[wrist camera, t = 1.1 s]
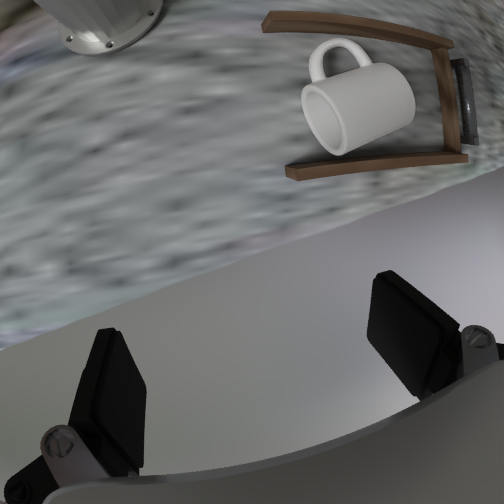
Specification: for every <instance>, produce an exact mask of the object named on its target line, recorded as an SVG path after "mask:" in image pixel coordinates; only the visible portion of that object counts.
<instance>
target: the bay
mask: <svg viewBox="0 0 504 504" xmlns="http://www.w3.org/2000/svg"><path fill="white" fill-rule="evenodd" d="M261 26H262V31H263V33H276V32H303V33H326V34H340V35H350V36H359V37H367V38H374V39H380V40H386V41H392V42H397V43H402V44H407V45H412V46H416V47H420V48H425V49H428V50H431V52H432V56H433V61H434V66H435V72H436V77H437V83H438V89H439V96H440V104H441V112H442V121H443V133H444V148H445V152H419V153H402V154H388V155H375V156H364V157H354V158H344V159H335V160H327V161H318V162H311V163H303V164H296V165H289V166H285V172H286V177H289V178H291V179H294V180H296V181H302V180H309V179H315V178H322V177H329V176H336V175H344V174H351V173H359V172H367V171H376V170H385V169H394V168H404V167H415V166H427V165H439V164H454V163H468V154H463V153H461V144H460V143H462V144H469V145H479V137H478V133H477V121H476V111H475V102H474V95H473V88H472V82H471V76H470V70H469V67H470V66H469V62H468V60H467V59H464V58H462V59H455V60H450V59H449V55H448V50H447V49H451V48H454V45H453V41H452V40H449V39H446V38H443V37H440V36H437V35H434V34H431V33H428V32H424V31H421V30H417V29H414V28H410V27H406V26H402V25H397V24H393V23H389V22H384V21H379V20H373V19H368V18H362V17H355V16H348V15H340V14H331V13H320V12H304V11H270V12H269V13H268V15H267V16H266V18H265V19H264V21H263V22H262V24H261ZM452 69H455V72H456V77H457V83H458V89H459V96H460V104H461V112H462V123H463V135H464V136H462V135H460V129H459V118H458V109H457V101H456V93H455V87H454V80H453V75H452Z"/></svg>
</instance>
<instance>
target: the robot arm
mask: <svg viewBox="0 0 504 504" xmlns="http://www.w3.org/2000/svg"><path fill="white" fill-rule="evenodd" d="M34 1H35V2H36V3H37V4H38V5H40V6H41V7H42V8H43V9H45V10H46V11H47V12H48V13H49V14H51V15H52V16H53V17H54V18H55V19H57V20H58V33H59V36H60V39H61V41H62V42H63V43H64V45H65V46H66V47H67V48H69V49H70V50H72V51H73V52H75V53H77V54H80V55H84V56H101V55H107V54H110V53H114V52H117V51H119V50H121V49H124V48H126V47H127V46H129V45H131V44H133V43H134V42H136V41H137V40H138V39H140V38H141V37H142V36H143V35H145V33H146V32H147V31H148V30H149V29H150V28H151V27H152V26H153V25H154V23H155V22H156V21H157V19H158V17H159V15H160V13H161V11H162V7H163V4H164V0H34ZM150 15H153V16H150ZM71 40H72V41H71ZM70 41H71V42H70ZM112 45H113V46H112ZM110 46H112V47H111V48H110ZM459 326H460V324H459V323H457V322H456V321H455V320H454V319H453V318H452V317H450V316H449V315H448V314H447V313H446V312H444V311H443V310H442V309H441V308H440V307H438V306H437V305H436V304H435V303H433V302H432V301H431V300H430V299H428V298H427V297H426V296H425V295H423V294H422V293H421V292H420V291H418V290H417V289H416V288H414V287H413V286H412V285H411V284H409V283H408V282H407V281H405V280H404V279H403V278H401V277H400V276H399V275H398V274H396V273H395V272H393V271H392V270H388V271H385V272H381V273H378V274H377V275H376V278H374V280H373V285H372V295H371V304H370V312H369V320H368V327H367V338H368V340H369V342H370V343H371V344H372V346H373V347H374V348H375V349H376V351H377V352H378V353H379V354H380V355H381V357H382V358H383V359H384V360H385V362H386V363H387V364H388V365H389V367H390V368H391V369H392V370H393V371H394V373H395V374H396V375H397V376H398V378H399V379H400V380H401V382H402V383H403V384H404V385H405V387H406V388H407V389H408V391H409V392H410V393H411V394H412V395H413V396H417V398H418V399H419V400H420V402H418V403H416V404H414V405H412V406H410V407H408V408H406V409H404V410H402V411H401V412H398V413H396V414H394V415H392V416H390V417H388V418H385V419H383V420H381V421H379V422H376V423H374V424H372V425H370V426H367V427H365V428H362V429H360V430H357V431H355V432H352V433H350V434H347V435H345V436H342V437H339V438H336V439H333V440H330V441H328V442H325V443H322V444H318V445H315V446H313V447H309V448H306V449H303V450H299V451H296V452H292V453H288V454H285V455H281V456H277V457H273V458H269V459H265V460H261V461H256V462H251V463H246V464H241V465H236V466H230V467H224V468H218V469H211V470H204V471H196V472H188V473H178V474H166V475H151V476H139V468H142V467H143V464H144V429H145V409H146V394H147V392H146V385H145V382H144V380H143V379H142V376H141V374H140V372H139V370H138V368H137V366H136V364H135V362H134V360H133V358H132V356H131V353H130V351H129V349H128V347H127V345H126V342H125V340H124V338H123V335H122V333H121V332H120V331H116V329H115V328H106V329H99V330H98V332H97V335H96V337H95V340H94V343H93V346H92V349H91V352H90V355H89V358H88V361H87V364H86V367H85V369H84V370H83V372H82V375H81V379H80V382H79V385H78V389H77V392H76V396H75V399H74V403H73V407H72V411H71V414H70V418H69V422H68V425H56V426H54V427H52V428H50V429H49V430H48V431H47V432H46V433H45V434H44V436H43V437H42V440H41V442H40V449H41V453H42V455H41V456H40V457H38V458H37V459H36V460H34V461H33V462H31V463H30V464H29V465H27V466H26V467H25V468H23V469H22V470H20V471H19V472H18V473H16V474H15V475H14V476H12V477H11V478H10V479H9V480H8V481H7V483H6V485H5V488H4V497H5V500H6V501H5V502H3V501H0V504H504V344H500V343H496V341H495V338H494V335H493V334H492V333H491V332H490V331H489V330H488V329H486V328H484V327H482V326H478V325H470V326H467V327H465V328H464V329H463V330H462V332H460V331H458V329H459ZM432 394H433V395H432ZM128 476H129V477H128Z"/></svg>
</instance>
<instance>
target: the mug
mask: <svg viewBox="0 0 504 504" xmlns="http://www.w3.org/2000/svg"><path fill="white" fill-rule="evenodd" d="M334 47H344V48H346V49H348V50H349V51H350V52H351V53H352V54H353V55H354V57H355V58H356V60H357V62H358V63H359V65H360V68H357V69H354V70H350V71H347V72H344V73H341V74H338V75H335V76H332V77H326V76H325V73H324V70H323V56H324V54H325V52H326V51H328V50H329V49H331V48H334ZM309 73H310V77H311V80H312V83H311V84H309V85H306V86H305V87H304V88H303V90H302V93H301V103H302V108H303V112H304V115H305V118H306V120H307V123H308V125H309V127H310V129H311V130H312V132H313V134H314V135H315V137H316V138H317V140H318V141H319V142H320V144H321V145H322V146H323V147H324V148H325V149H326V150H327V151H329V152H330V153H332V154H334V155H337V156H340V155H343V154H345V153H347V152H349V151H352V150H354V149H356V148H358V147H360V146H362V145H364V144H367V143H369V142H371V141H373V140H375V139H378V138H380V137H382V136H384V135H386V134H389V133H391V132H393V131H395V130H398V129H400V128H402V127H405V126H407V125H409V124H410V123H411V122H412V120H413V118H414V115H415V109H416V106H415V98H414V94H413V92H412V89H411V87H410V85H409V83H408V81H407V80H406V78H405V77H404V76H403V75H402V74H401V73H400V72H399V71H398V70H397V69H396V68H395V67H393V66H391V65H389V64H387V63H381V62H380V63H375V64H374V63H372V61H371V60H370V58H369V56H368V55H367V54H366V52H365V51H364V50H363V49H362V48H361V47H360V46H359V45H358V44H357V43H355V42H353V41H352V40H349V39H346V38H333V39H330V40H327V41H325V42H323V43H321V44H320V45H319V46H318V47H317V48H316V49H315V50H314V51H313V52H312V54H311V56H310V59H309Z"/></svg>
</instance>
